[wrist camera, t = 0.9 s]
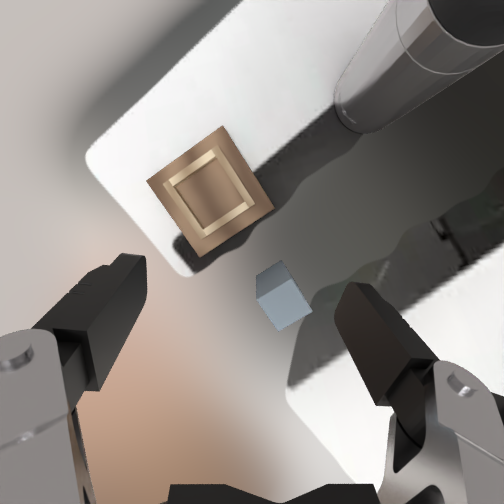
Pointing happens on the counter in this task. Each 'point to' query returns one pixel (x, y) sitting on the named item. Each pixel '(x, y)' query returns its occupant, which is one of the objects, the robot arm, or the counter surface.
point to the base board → (210, 192)
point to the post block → (280, 296)
